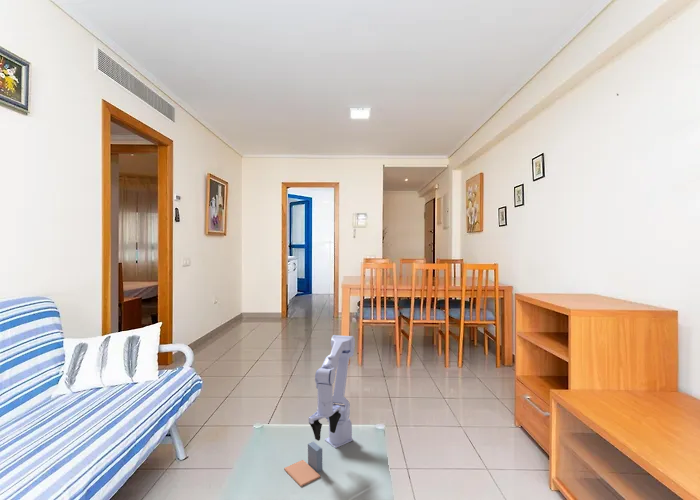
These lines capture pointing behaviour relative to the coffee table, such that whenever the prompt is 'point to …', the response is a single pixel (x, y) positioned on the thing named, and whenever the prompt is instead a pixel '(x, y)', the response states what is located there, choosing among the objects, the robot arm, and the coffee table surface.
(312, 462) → the slab
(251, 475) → the coffee table surface
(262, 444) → the coffee table surface
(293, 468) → the mat
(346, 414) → the robot arm
